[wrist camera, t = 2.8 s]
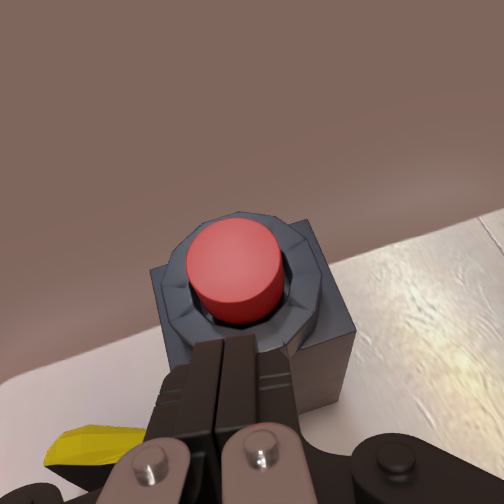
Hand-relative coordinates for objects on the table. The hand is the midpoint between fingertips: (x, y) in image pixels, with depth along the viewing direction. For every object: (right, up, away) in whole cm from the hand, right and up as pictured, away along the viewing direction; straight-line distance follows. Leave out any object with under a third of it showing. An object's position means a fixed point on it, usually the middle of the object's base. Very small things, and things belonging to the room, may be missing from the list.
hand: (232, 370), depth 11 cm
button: (0, +2, +8) cm, 8 cm away
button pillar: (+2, -7, +23) cm, 24 cm away
